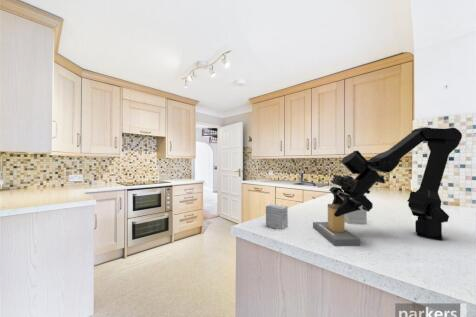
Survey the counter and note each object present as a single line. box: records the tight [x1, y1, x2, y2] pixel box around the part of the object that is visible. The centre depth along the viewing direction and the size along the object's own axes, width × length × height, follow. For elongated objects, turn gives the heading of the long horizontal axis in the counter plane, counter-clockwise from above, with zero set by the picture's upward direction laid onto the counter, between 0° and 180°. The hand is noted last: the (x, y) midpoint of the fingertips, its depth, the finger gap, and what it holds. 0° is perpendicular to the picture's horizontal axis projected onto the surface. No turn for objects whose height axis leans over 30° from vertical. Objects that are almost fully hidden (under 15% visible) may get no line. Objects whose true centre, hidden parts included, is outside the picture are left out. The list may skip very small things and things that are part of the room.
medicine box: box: [265, 204, 289, 231], centre depth 83 cm, size 8×4×9 cm, turn 47°
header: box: [312, 221, 361, 247], centre depth 73 cm, size 8×18×3 cm, turn 1°
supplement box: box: [344, 194, 368, 225], centre depth 89 cm, size 7×7×13 cm
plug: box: [327, 203, 345, 232], centre depth 73 cm, size 4×4×10 cm
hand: (332, 214), depth 73 cm, fingers open, 4 cm apart
